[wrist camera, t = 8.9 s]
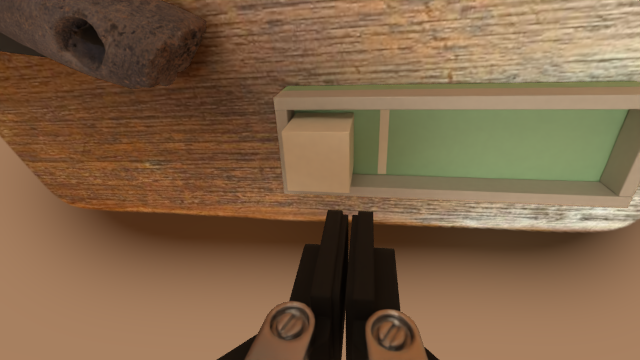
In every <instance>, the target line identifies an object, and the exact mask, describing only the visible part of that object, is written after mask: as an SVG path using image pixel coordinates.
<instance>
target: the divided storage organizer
mask: <svg viewBox="0 0 640 360" xmlns="http://www.w3.org/2000/svg"><path fill="white" fill-rule="evenodd" d="M273 99H274V107H275V115H276V124H277V132H278V141H279V150H280V159H281V167H282V176H283V183H284V184H283V186H284V193H288V194H311V195H334V196H358V197H381V198H404V199H428V200H451V201H475V202H498V203H521V204H545V205H568V206H591V207H615V208H628V206H629V204H630V202H631V200H632V197H633V196H634V194H635V192H636V190H637V187H638V185H639V183H640V82H637V81H612V82H540V83H469V84H397V85H326V86H287V87H286V88H284V89H283V90H282V91H281V92H280V93H279V94H277V95H276V96H275V97H274V98H273ZM296 113H354V167H353V173H352V180H351V186H350V192H349V193H337V192H312V191H288V188H287V178H286V169H285V160H284V150H283V141H282V131H283V129H284V128H285V127H286V126H287V124H288V123H289V122H290V121H291V119H292V118H293V117H294V115H295V114H296Z"/></svg>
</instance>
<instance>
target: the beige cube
mask: <svg viewBox="0 0 640 360" xmlns="http://www.w3.org/2000/svg"><path fill="white" fill-rule="evenodd" d="M282 141H283V150H284V160H285V169H286V178H287V188H288V191H312V192H337V193H349V192H350V186H351V180H352V173H353V167H354V113H296V114H295V115H294V117H293V118H292V119H291V121H290V122H289V123H288V124H287V126H286V127H285V128H284V129H283V131H282Z"/></svg>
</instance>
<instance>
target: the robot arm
mask: <svg viewBox="0 0 640 360" xmlns="http://www.w3.org/2000/svg"><path fill="white" fill-rule="evenodd" d="M373 242H374V239H373V212H366V211H359V212H358V215H353V216H352V227H351V239H350V250H349V262H348V215H344V214H343V211H341V210H328V212H327V216H326V221H325V226H324V231H323V235H322V240H321V245H318V244H305V247H304V249H303V253H302V257H301V260H300V264H299V268H298V271H297V275H296V279H295V282H294V286H293V290H292V293H291V297H290V301H289V302H283V303H281V304H279V305H277V306H276V307H274V308H273V309H272V310H271V311H270V312H269V314H268V315H267V316H266V319H265V320H264V322H263V324H262V326H261V328H260V331H259V332H258V334H257V335H255V336H253V337H252V338H250V339H249V340H247V341H246V342H244V343H243V344H241V345H239V346H238V347H236V348H235V349H233V350H231V351H230V352H228V353H227V354H225V355H224V356H222V357H220V358H219V359H217V360H341V357H342V345H343V333H344V321H345V309H346V360H439V359H438V358H436V357H435V356H434V355H433V354H432V353H431V352H430V351H429V350H427V349H426V348H425V347H424V345H423V342H422V339H421V336H420V333H419V330H418V328H417V326H416V324H415V323H414V321H413V320H412V319H411V318H410V317H409V316H407V315H406V314H404V313H403V312H400V303H399V293H398V282H397V272H396V261H395V251H394V249H388V248H374V243H373Z"/></svg>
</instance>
